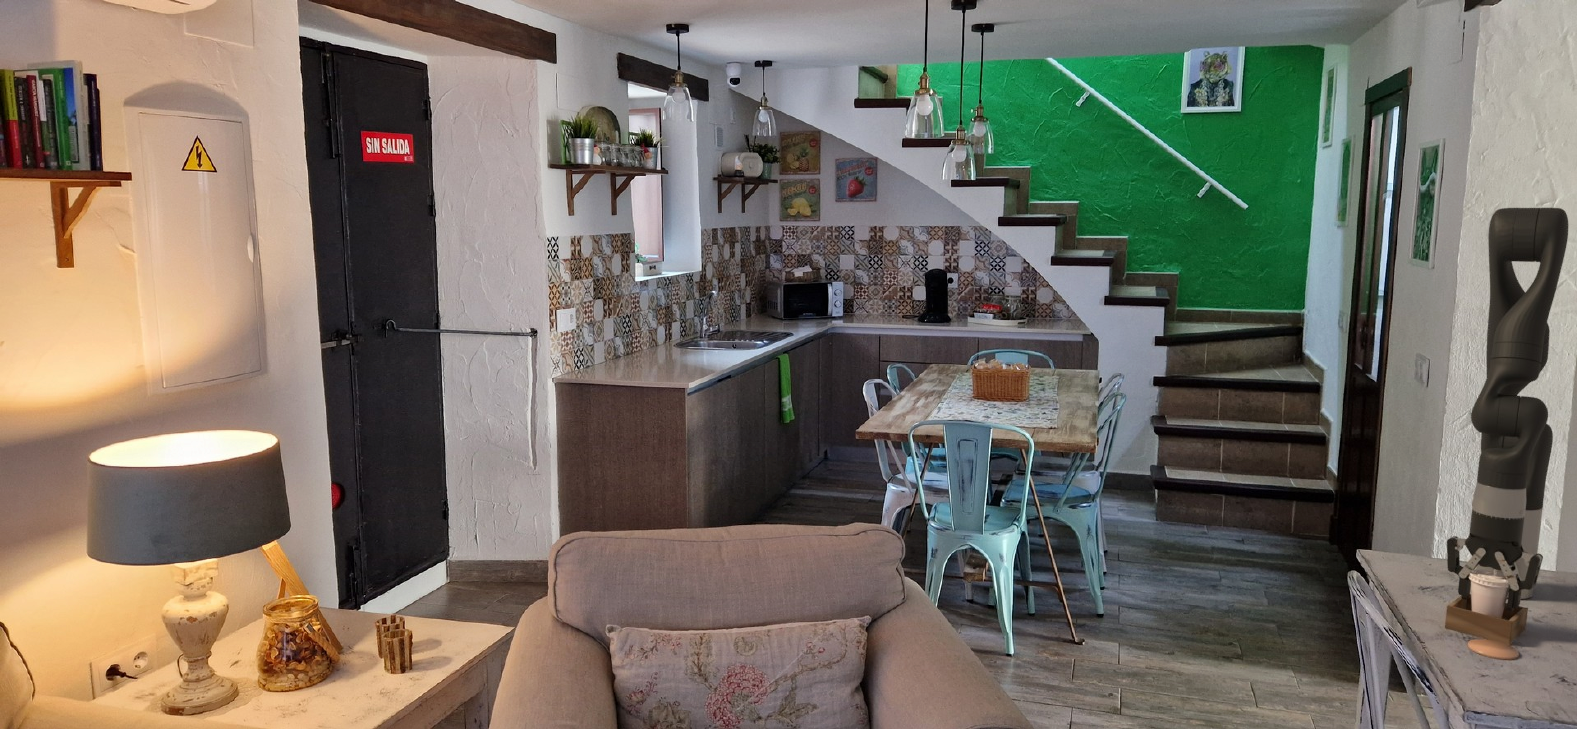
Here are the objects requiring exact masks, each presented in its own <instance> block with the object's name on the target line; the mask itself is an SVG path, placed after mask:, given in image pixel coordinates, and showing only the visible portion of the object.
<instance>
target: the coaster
mask: <svg viewBox="0 0 1577 729" xmlns="http://www.w3.org/2000/svg"><path fill="white" fill-rule="evenodd" d="M1467 647H1468V649H1469V650H1470V651H1472V652H1473V653H1475V654H1478V655H1481V656H1483V657H1488V658H1490V659H1491V658H1492V659H1495V660H1496V659H1497V660H1503V661H1504V660H1506V661H1507V660H1508V661H1509V660H1510V661H1511V660H1515V659H1517V658H1519V655H1520V654H1519V653H1520V652H1519V650H1518V649H1516V648H1515V647H1514V646H1512V645H1507V644H1504V643H1501V642H1497V641H1492V640H1488V639H1484V638H1476V639H1474V638H1473V639H1471V640H1469V641H1468V642H1467Z"/></svg>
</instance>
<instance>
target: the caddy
mask: <svg viewBox="0 0 1577 729" xmlns="http://www.w3.org/2000/svg"><path fill="white" fill-rule="evenodd" d="M1461 596H1462V595H1459V597H1457V598H1456V599H1455V600H1453V601H1452V602H1450V603H1449V604H1448V605H1447V606H1446V613H1445V622H1444V628H1445V629H1446V630H1447V629H1448V630H1451V631H1455V632H1459V633H1462V634H1466V635H1469V636H1470V635H1471V636H1473V637H1478V638H1480V639H1485V640H1492V641H1497V642H1501V643H1504V644H1507V645H1509V646H1511V644H1512V643H1513V642H1514V641H1516V640H1517V639H1518V638H1519V637H1520V636H1521V635H1522V634H1523V633H1524V632H1525V631H1526V630H1527V628H1526V627H1527V619H1528V611H1529V608H1528V607H1525V606H1521V605H1519V606H1518V607H1517V608H1515V609H1514V610H1513V611H1510V610H1507V603H1508V602H1506V603H1505V607H1504V611H1503V614H1502V618H1497V617H1493V616H1489V615H1485V614H1481V613H1477V612H1473V611H1472V600H1471V593H1470V596H1469V598H1468V599H1467V600H1465V599H1462V598H1461Z"/></svg>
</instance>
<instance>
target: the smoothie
mask: <svg viewBox="0 0 1577 729" xmlns="http://www.w3.org/2000/svg"><path fill="white" fill-rule="evenodd" d="M1469 579H1470V580H1471V589H1470V594H1471V600H1472V611H1473V612H1477V613H1481V614H1485V615H1489V616H1493V617H1497V618H1502V614H1503V611H1504V607H1505V603H1507V601H1508V598H1507V596H1508V593H1509V589H1510V585H1509V582H1508V580H1507V578H1506V577H1505V576H1504V574H1502V573H1499V572H1497V570H1496V569H1494V570H1493V571H1488V570H1476V569H1474V570H1473V571H1471V572H1470V575H1469Z"/></svg>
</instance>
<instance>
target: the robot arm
mask: <svg viewBox="0 0 1577 729" xmlns="http://www.w3.org/2000/svg"><path fill="white" fill-rule="evenodd" d="M1568 218H1569V217H1568V215H1567V213H1566V211H1565V210H1564V209H1563V208H1560V207H1503V208H1498V209H1497V210H1495V211H1494V212H1493V214H1492V216H1491V218H1490V221H1489V228H1488V238H1487V239H1488V263H1489V264H1488V268H1489V270H1488V271H1489V305H1488V306H1489V309H1488V320H1487V330H1486V331H1487V334H1486V379H1485V382H1484V384H1483V386H1482V389H1481V391H1480V393H1479V394H1478V397H1477V398H1476V400H1475V402H1474V405H1473V406H1472V409H1471V413H1470V414H1471V415H1470V420H1471V424H1472V425H1473V428H1474V429H1475V430H1476V431H1477V432H1478V433H1481V436H1480V437H1481V438H1480V454H1479V460H1478V468H1477V469H1478V470H1477V476H1476V477H1477V478H1476V483H1475V488H1474V492H1473V498H1472V502H1471V508H1472V509H1471V514H1470V515H1471V516H1470V525H1469V533H1468V534H1469V535H1468V536H1467V538H1460V537H1458V536H1455V535H1454V536H1451V537H1450V538H1448V539H1447V540H1446V552H1447V553H1446V555H1447V556H1446V557H1447V558H1446V559H1447V560H1446V561H1447V563H1446V564H1447V571H1449V572H1450V573H1454V574H1456V575H1457V576H1458V588H1457V592H1458V595H1459V596H1461V595H1462V596H1461V598H1462V599H1465V600H1467V599H1468V598H1469V596H1470V594H1471V580H1470V579H1469V575H1470V572H1471V571H1473V570H1488V571H1493V570H1494V569H1496V570H1497V572H1499V573H1502V574H1504V576H1505V577H1506V578H1507V580H1508V582H1509V585H1510V589H1509V593H1508V596H1507V602H1506V603H1507V610H1510V611H1513V610H1514V609H1515V608H1517V607H1518V606H1521V605H1520V604H1521V600H1526V599H1530V598H1532V597H1533V592H1534V587H1535V586H1536V584H1537V581H1538V577H1539V573H1540V570H1541V566H1542V563H1543V559H1544V556H1543V555H1542V554H1541V553H1539V552H1538V550H1539V542H1540V535H1541V526H1542V518H1543V508H1544V498H1545V490H1546V489H1545V488H1546V481H1547V475H1548V470H1549V464H1550V460H1551V456H1552V455H1551V454H1552V448H1553V443H1554V442H1553V441H1554V434H1553V430H1552V427H1551V426H1550V424H1548V419H1549V410H1548V407H1547V405H1546V404H1545V402H1544V401H1543V400H1542V399H1540V398H1538V397H1534V396H1527V395H1526V396H1524V395H1519V394H1520V393H1521V392H1523V391H1522V390H1524V389H1525V388H1526V387H1527V386H1528V385H1529V384H1530V383H1532V382H1535V381H1537V380H1538V379H1539V377H1540V374H1541V373H1542V371H1543V370H1544V367H1546V366H1547V365H1546V364H1547V363H1548V360H1549V350H1550V348H1549V346H1550V326H1549V323H1548V320H1549V315H1550V313H1551V308H1552V305H1553V301H1554V299H1555V295H1556V290H1557V287H1558V282H1559V278H1560V275H1561V271H1562V267H1563V263H1564V258H1565V254H1566V250H1567V244H1568V238H1569V219H1568ZM1513 262H1516V263H1517V262H1522V263H1526V262H1527V263H1528V262H1530V263H1539V266H1538V270H1537V274H1536V275H1535V278H1534V280H1533V282H1531V284H1530V286H1529V287H1528V289H1527V290H1526V291H1525V290H1524V288H1523V287H1522V286H1521V284H1520V281H1519V280H1518V278H1517V275H1516V272H1515V269H1514V265H1513ZM1464 546H1465V547H1466V549H1467V551H1468V552H1469V553H1470V555H1471V558H1470V559H1469V560H1468V561H1467V562H1466V563H1465V565H1464V566H1462V565H1461V564H1460V563H1461V561H1460V560H1461V558H1460V557H1461V556H1460V551H1461V550H1462V549H1464Z"/></svg>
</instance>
